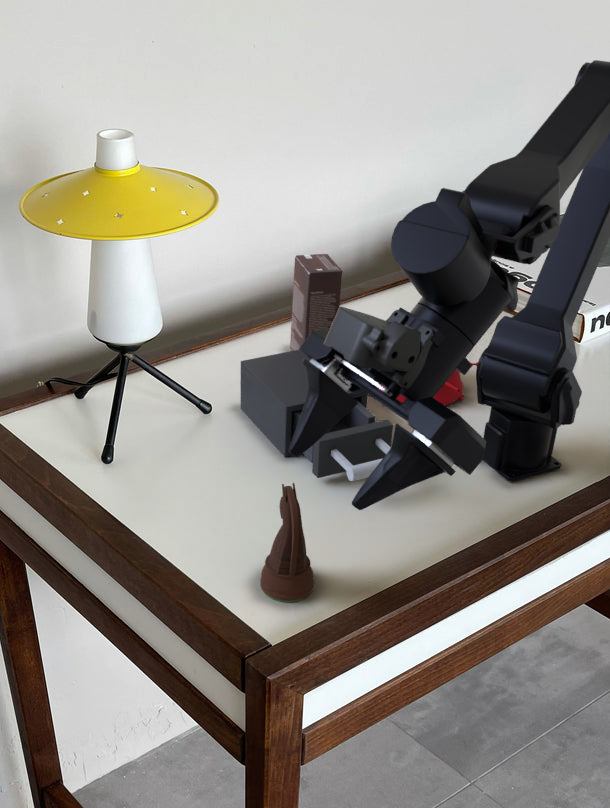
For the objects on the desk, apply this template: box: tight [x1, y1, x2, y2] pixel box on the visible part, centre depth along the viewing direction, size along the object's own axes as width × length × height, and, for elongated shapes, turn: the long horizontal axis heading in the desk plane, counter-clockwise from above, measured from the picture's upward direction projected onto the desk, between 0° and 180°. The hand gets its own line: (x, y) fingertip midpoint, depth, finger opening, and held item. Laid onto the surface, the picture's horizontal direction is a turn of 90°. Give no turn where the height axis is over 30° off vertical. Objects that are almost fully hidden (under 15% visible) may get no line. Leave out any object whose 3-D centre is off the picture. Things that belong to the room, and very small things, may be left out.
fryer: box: [240, 350, 369, 458], centre depth 109 cm, size 11×9×6 cm
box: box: [289, 253, 343, 351], centre depth 120 cm, size 6×4×12 cm
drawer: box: [291, 398, 394, 482], centre depth 102 cm, size 15×8×4 cm, turn 23°
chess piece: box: [259, 482, 315, 603], centre depth 84 cm, size 5×5×10 cm
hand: (322, 479), depth 82 cm, fingers open, 9 cm apart
